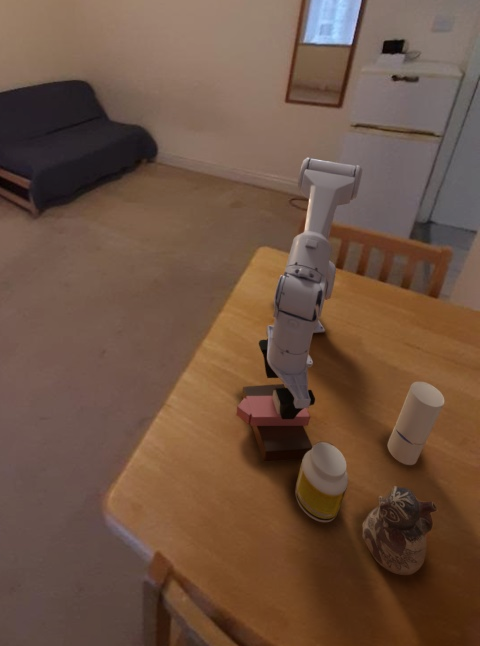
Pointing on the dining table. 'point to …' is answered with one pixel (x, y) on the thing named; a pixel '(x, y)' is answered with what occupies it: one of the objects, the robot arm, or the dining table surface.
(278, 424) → the boat
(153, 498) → the dining table surface
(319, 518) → the pill bottle
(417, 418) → the tube
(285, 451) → the walnut block
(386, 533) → the figurine
